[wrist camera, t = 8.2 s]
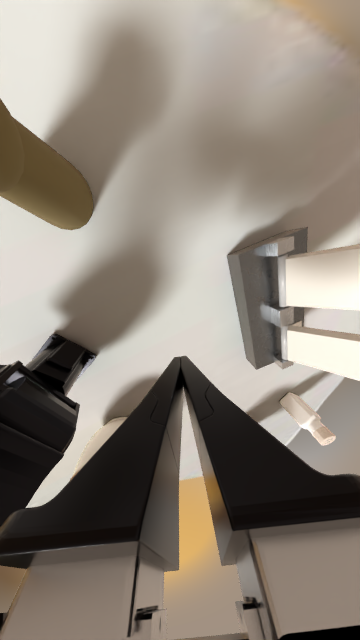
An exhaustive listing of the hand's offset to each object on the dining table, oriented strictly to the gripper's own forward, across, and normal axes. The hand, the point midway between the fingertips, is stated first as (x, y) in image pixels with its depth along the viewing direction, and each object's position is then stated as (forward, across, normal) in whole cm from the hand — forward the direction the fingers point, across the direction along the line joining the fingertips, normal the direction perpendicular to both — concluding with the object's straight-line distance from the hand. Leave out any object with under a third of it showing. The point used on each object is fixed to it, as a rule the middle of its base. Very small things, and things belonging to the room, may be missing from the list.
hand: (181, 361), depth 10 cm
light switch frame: (+15, +14, -4) cm, 21 cm away
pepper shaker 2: (+15, +25, -30) cm, 42 cm away
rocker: (+10, +14, +2) cm, 17 cm away
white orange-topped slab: (+10, +16, -8) cm, 21 cm away
